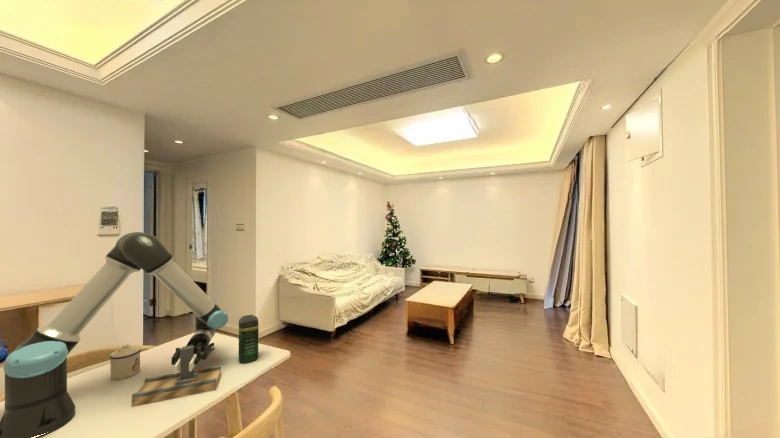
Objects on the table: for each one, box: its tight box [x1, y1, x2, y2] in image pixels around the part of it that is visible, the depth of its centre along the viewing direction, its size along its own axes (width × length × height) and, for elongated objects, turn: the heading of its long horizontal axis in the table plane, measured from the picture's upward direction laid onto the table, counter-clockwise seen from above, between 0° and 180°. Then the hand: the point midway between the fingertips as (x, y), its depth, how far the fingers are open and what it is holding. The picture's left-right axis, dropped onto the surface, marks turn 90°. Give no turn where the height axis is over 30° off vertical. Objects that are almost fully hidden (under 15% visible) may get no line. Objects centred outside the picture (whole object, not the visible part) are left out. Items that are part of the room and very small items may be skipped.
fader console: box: [131, 365, 222, 407], centre depth 102 cm, size 24×11×4 cm, turn 112°
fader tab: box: [175, 345, 199, 386], centre depth 103 cm, size 6×5×12 cm
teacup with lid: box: [109, 343, 142, 381], centre depth 114 cm, size 12×9×12 cm
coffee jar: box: [238, 314, 260, 363], centre depth 125 cm, size 10×8×19 cm
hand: (182, 368), depth 98 cm, fingers closed on fader tab, 4 cm apart
